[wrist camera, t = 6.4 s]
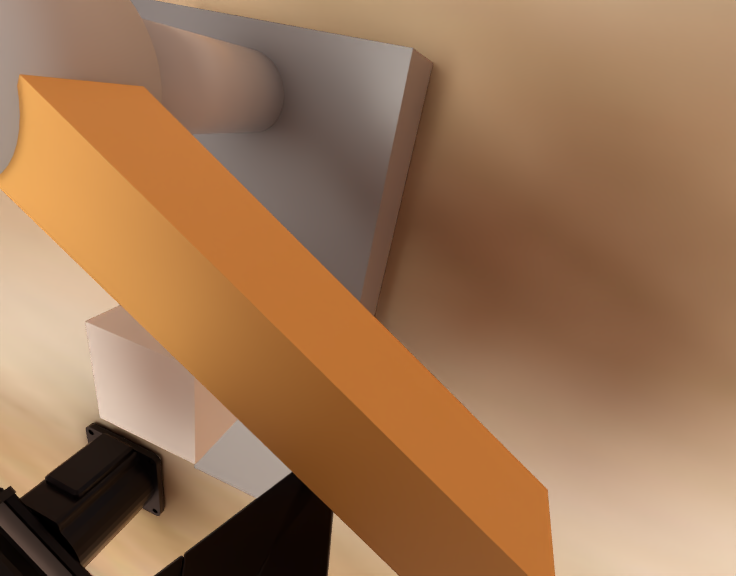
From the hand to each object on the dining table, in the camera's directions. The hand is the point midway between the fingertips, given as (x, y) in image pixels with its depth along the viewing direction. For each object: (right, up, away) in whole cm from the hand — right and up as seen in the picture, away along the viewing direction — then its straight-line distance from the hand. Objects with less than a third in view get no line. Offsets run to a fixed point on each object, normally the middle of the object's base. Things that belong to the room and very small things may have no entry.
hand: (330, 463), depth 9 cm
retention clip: (-1, +5, -1) cm, 5 cm away
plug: (-4, +3, +11) cm, 12 cm away
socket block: (-3, +7, +9) cm, 11 cm away
